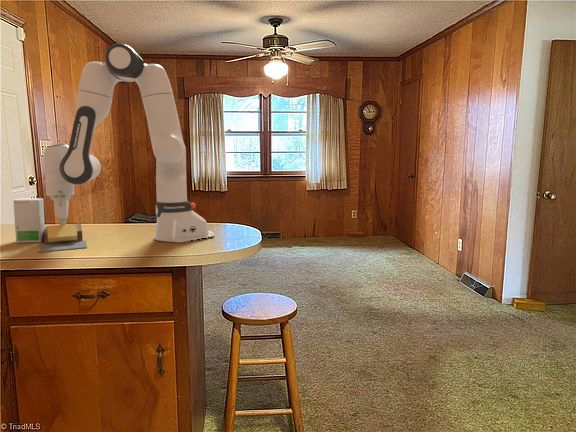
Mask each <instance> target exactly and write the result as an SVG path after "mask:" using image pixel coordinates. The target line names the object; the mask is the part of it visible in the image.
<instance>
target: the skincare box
mask: <svg viewBox="0 0 576 432" xmlns="http://www.w3.org/2000/svg"><path fill="white" fill-rule="evenodd" d="M44 206H45V204H44V198H39V197H36V198H35V197H34V198H33V197H30V198H29V197H28V198H27V197H20V198H15V199H13V213H14V216H13V217H14V229H15V230H14V231H15V243H16V244H17V243H19V244H20V243H41V242H43V241H44V231H45V228H46V225H45V222H46V221H45V207H44Z"/></svg>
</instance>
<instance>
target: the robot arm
mask: <svg viewBox="0 0 576 432" xmlns="http://www.w3.org/2000/svg"><path fill="white" fill-rule="evenodd" d="M82 69H83V70H82V72H81V75H80V79H79V83H78V89H77V94H76V95H77V96H76V97H77V98H76V108H75V113H74V114H75V115H74V121H73V124H72V130H71V135H70V139H69V144H67V143H60V144H53V145H49V146H47V147H46V148H44V151H43V171H44V172H45V181H44V183H45V194H46V196H48V197H50V200H51V201H53V203H54V215H55V220H58V221H59V225H67V219H68V217H69V205H70V202H69V201H70V200H71V199H72V197H71V196H73V195H75V185H82V184H85V183H86V182H89V181H92V180H94V179H96V178H97V177H98V176H99V175H100V174H101V172H102V164H101V162H100V160H99V159H98V158H97V157H96V156H95V155H92V154H90V151H91V147H92V142H93V137H94V133H95V130H96V128H97V126H98V125H99V124H101V122H102V121H104V120H106V118H108V116H109V113H110V112H111V109H112V102H113V98H114V90H115V87H116V84H117V85H121V84H134V83H136V84H137V86H138V88H139V92H140V96H141V100H142V104H143V107H144V112H145V117H146V120H147V127H148V131H149V137H150V143H151V147H152V148H151V149H152V151H153V154H154V157H155V161H156V165H155V166H156V168H155V169H156V172H155V185H156V186H155V188H156V192H155V193H156V201H155V216H156V226H155V233H154V236H153V237H154V238H153V239H154V240H155V241H158V242H172V243H184V242H185V243H186V242H192V241H191V240H193V241H198V240H197V239H200V240H202V239H201V238H207V239H209V238H208V237H213V236H214V237H215V233H214V232H213V231H212V230H209V226H208V222H207V220H206V219H205V218H204V217H203V216H201V215H199V213H197V212H195V211H194V210H193V209H196V206H197V204H196V203H195V202H191V201H189V200H188V190H187V189H188V188H187V185H188V184H187V147H186V145H185V142H184V138H183V134H182V129H181V124H180V120H179V118H180V117H179V114H178V110H177V105H176V101H175V96H174V93H173V88H172V85H171V82H170V79H169V76H168V75H167V72H166V70H165V68H164V67H163V66H161V65H160V64H158V63H145V61H144V59H142V57H141V56H140V54H138V53H137V51H135V49H134V48H132V47H131V46H130V45H128V44H126V43H122V42H118V43H114V44H111V45H110V46H109V47H108V48H107V49H106V51H105V54H104V61H102V62H101V61H98V60H97V61H90V62H87V63H85V65H84V67H83V68H82ZM214 237H213V238H214Z"/></svg>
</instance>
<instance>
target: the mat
mask: <svg viewBox="0 0 576 432" xmlns="http://www.w3.org/2000/svg"><path fill="white" fill-rule="evenodd" d="M82 249H88V245H87V241H86V240H83V241H76V242H64V243H53V244H45V243H44V244H40V249H39V253H41V254H42V253H51V252H61V251H73V250H82Z"/></svg>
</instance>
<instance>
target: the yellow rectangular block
mask: <svg viewBox="0 0 576 432" xmlns="http://www.w3.org/2000/svg"><path fill="white" fill-rule="evenodd" d="M76 224H77V223H73V224H72V223H71V224H67V223H66V225H60V224H51V225H47V226H48V242H54V241H66V240H77V226H76Z"/></svg>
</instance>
